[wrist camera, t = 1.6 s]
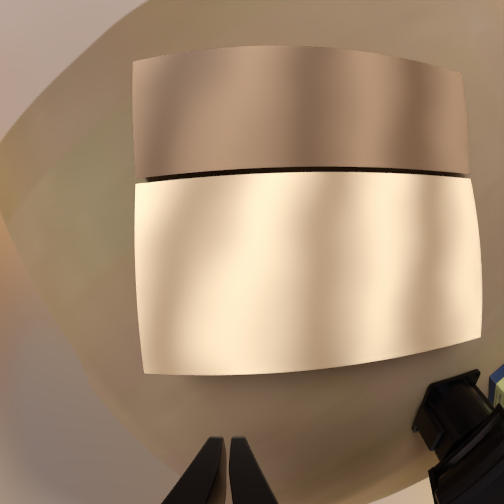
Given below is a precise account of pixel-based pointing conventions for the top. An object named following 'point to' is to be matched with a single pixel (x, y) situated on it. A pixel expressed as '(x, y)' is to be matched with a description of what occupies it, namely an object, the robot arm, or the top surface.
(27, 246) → the top surface
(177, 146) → the walnut board
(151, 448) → the top surface
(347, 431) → the top surface
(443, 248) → the oak plank
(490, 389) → the protein box
